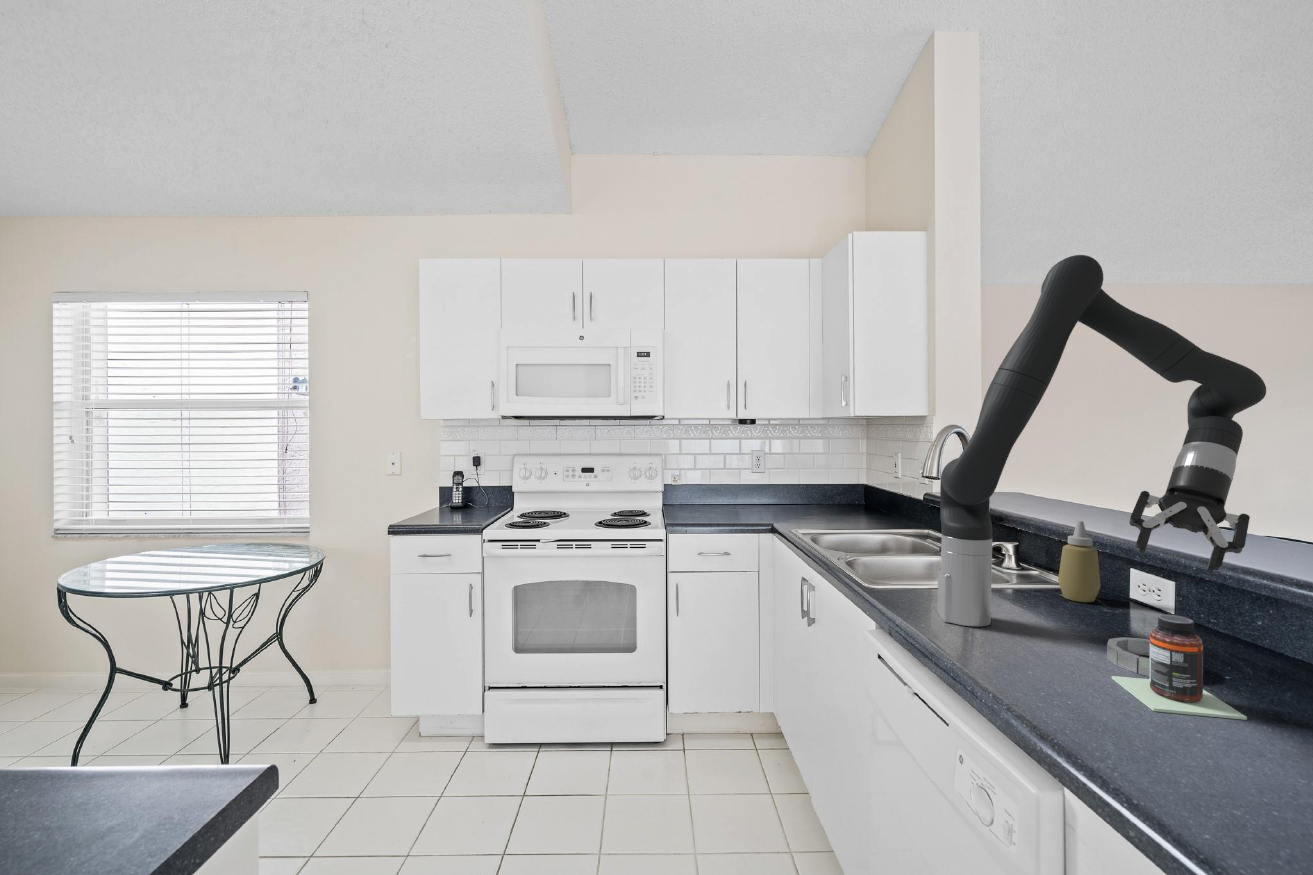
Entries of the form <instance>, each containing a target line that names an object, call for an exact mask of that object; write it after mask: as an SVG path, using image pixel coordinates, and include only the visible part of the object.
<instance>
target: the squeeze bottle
mask: <svg viewBox="0 0 1313 875" xmlns="http://www.w3.org/2000/svg"><path fill="white" fill-rule="evenodd" d="M1076 521H1077V522H1076V524H1075V529H1074V531H1073V535H1068V536H1067V544H1065V545H1063V546H1062V550H1061V558H1060V562H1059V570H1058V571H1059V572H1058V578H1057V579H1058V580H1057V582H1058V584H1059V587H1060V590H1061V593H1062V596H1063V598H1064V599H1067V600H1070V601H1074V602H1079V603H1093V602H1095V600H1096V598H1097V596H1098V594H1099V592H1100V589H1101V576H1100V567H1099V566H1100V565H1099V555H1098V549H1097V548H1095V547H1093V538H1092V537H1090V536H1088V535H1087V531H1086V527H1085V522H1084V521H1082V520H1081V521H1080V520H1076Z"/></svg>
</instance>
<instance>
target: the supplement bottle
mask: <svg viewBox="0 0 1313 875" xmlns="http://www.w3.org/2000/svg"><path fill="white" fill-rule="evenodd" d="M1157 620H1158V621H1157V624H1158V625H1157V626H1156V627H1155V628H1153V629H1152V630H1151V631H1150V633H1149V640H1150V656H1149V658H1150V670H1149V671H1150V676H1149V679H1150V688H1151V689H1152V690H1153V691H1154V692H1155V693H1157V694H1159V695H1161V696H1163V697H1166V698H1169V699H1173V700H1177V701H1183V702H1196V701H1200V700H1201V699H1202V697H1203V690H1204V644H1203V639H1202V638H1201V637H1200V636H1199V635H1198V634H1196V633H1195V631H1194V630H1195V621H1194V620H1193V619H1191V618H1187V617H1185V616H1181V615H1177V614H1176V615H1174V614H1160V615H1158V618H1157Z"/></svg>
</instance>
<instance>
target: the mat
mask: <svg viewBox="0 0 1313 875" xmlns="http://www.w3.org/2000/svg"><path fill="white" fill-rule="evenodd" d="M1111 679H1112V680H1113V681H1114V682H1116V684H1118V685H1119V686H1121V687H1122V688H1123V689H1125V691H1127V692H1129V693H1130V694H1131V695H1132V696H1133V697H1135V698H1136V699H1137V700H1138V701H1140V702H1141V703H1142V704H1144V705H1145V706H1146V707H1148V708H1149V709H1150V710H1152V711H1153V712H1160V713H1167V714H1168V713H1169V714H1178V715H1179V714H1181V715H1188V716H1189V715H1190V716H1201V717H1212V718H1221V719H1231V720H1232V719H1233V720H1243V721H1247V720H1248V717H1247V716H1246V715H1245V714H1243V713H1241V712H1239V711H1238V710H1236V709H1235V708H1233V707H1232V706H1231V705H1229V704H1227V703H1225V702H1224V701H1222V700H1220V699H1219V698H1217V697H1216V696H1215V695H1213V694H1212V693H1209V692H1208V691H1206V690H1205V689H1203V697H1202V699H1201V700H1200V701H1196V702H1183V701H1177V700H1173V699H1169V698H1166V697H1163V696H1161V695H1159V694H1157V693H1155V692H1154V691H1153V690H1152V689H1151V688H1150V678H1141V677H1140V678H1138V677H1129V676H1118V675H1112V676H1111Z"/></svg>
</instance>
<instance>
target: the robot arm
mask: <svg viewBox="0 0 1313 875" xmlns="http://www.w3.org/2000/svg"><path fill="white" fill-rule="evenodd" d="M1103 283H1104V271H1103V268H1102V266H1101V264H1100V263H1099V261H1097V259H1095V258H1093V257H1092V256H1090V255H1086V254H1076V255H1075V254H1074V255H1071V256H1067V257H1066V258H1063V259H1061V260H1060V261H1058V262H1057V263H1056V264H1054V265H1053V266H1052V267H1051V268H1050V269H1049V271H1048V272H1047V273H1046V276H1045V278H1044V280H1043V282H1042V283H1041V288H1040V289H1041V290H1040V296H1039V298H1038V299H1037V303H1036V305H1035V307H1034V309H1033V313H1032V314H1031V316H1030V319H1029V320H1028V322H1027V323H1026V325H1025V327H1024V328H1023V330H1022V331H1021V333H1020V334H1019V336H1018V337H1017V339H1016V340H1015V341H1014V343H1013V344H1012V345H1011V347H1010V349H1009V350H1008V351H1007V354H1006V355H1005V356H1004V358H1003V360H1002V362H1001V363H1000V365H999V366H998V368H997V371H996V372H995V374H994V376H993V378H992V380H991V381H990V384H989V386H988V389H987V391H986V393H985V395H984V399H983V402H982V405H981V409H980V412H979V416H978V420H977V424H976V426H975V429H974V431H973V434H972V435H971V437H970V439H969V441H968V443H967V444H966V445H965V447H964V449H963V451H961V453H960V455H959V457H957V458H955V459H952V460H950V461H949V462H948V463H946V465H945V466H944V468H943V469H942V472H941V473H940V474H941V475H940V485H939V486H940V491H939V492H940V495H939V496H940V498H939V499H940V500H939V502H940V503H939V504H940V508H939V509H940V512H939V513H940V514H939V515H940V522H941V523H940V524H941V548H940V549H941V550H940V552H941V556H940V560H941V561H940V568H938V570H937V614H938V616H939V617H940V618H941V620H942V621H943V622H944V623H951V624H955V625H960V626H965V627H966V626H967V627H977V628H978V627H987V626H989V625H991V624H992V623H991V621H992V620H991V619H992V578H993V577H992V570H993V568H992V565H993V524H992V520H991V512H990V510H991V509H990V503H991V501H990V498H991V497H992V496H993V494H994V493H995V491H996V489H997V486H998V485H999V482H1000V478H1001V476H1002V474H1003V471H1004V469H1005V466H1006V464H1007V460H1008V458H1009V457H1010V454H1011V452H1012V449H1013V447H1014V445H1015V444H1016V441H1017V440H1018V439H1019V437H1020V435H1021V434H1022V432H1023V431H1024V429H1025V428H1026V426H1027V425H1028V423H1029V421H1030V419H1031V418H1032V416H1033V415H1034V413H1035V412H1036V409H1037V407H1038V406H1039V404H1040V403H1041V400H1042V399H1043V397H1044V395H1045V394H1046V391H1047V389H1048V387H1049V385H1050V383H1051V382H1052V378H1053V377H1054V374H1055V373H1056V371H1057V368H1058V366H1059V363H1060V361H1061V359H1062V357H1063V356H1062V355H1063V354H1064V351H1065V349H1066V345H1067V342H1068V341H1069V338H1070V336H1071V334H1072V332H1073V330H1074V328H1075V327H1076V325H1077V324H1078V322H1079V323H1081V324H1082V325H1084V326H1086V327H1088V328H1090V329H1091V330H1093V331H1095V332H1097V333H1098V334H1100V335H1102V336H1103V337H1105V338H1107V339H1108V340H1110V341H1111V342H1112V343H1114V344H1116V345H1117V346H1119V347H1120V348H1121V349H1123V350H1124V351H1126V353H1128V354H1130V356H1132V357H1134V358H1135V359H1137V360H1138V361H1139V362H1140V363H1142V364H1144V365H1145V366H1146V367H1148V369H1150V370H1152V371H1153V372H1155V374H1157V375H1159V376H1160V377H1162V378H1163V379H1164V380H1166V381H1168V382H1170V383H1174V384H1175V383H1177V384H1178V383H1181V382H1186V381H1192V382H1195V383H1197V384H1200V385H1198V387H1196V388H1195V389H1194V390H1193V392H1192V393H1191V395H1190V397H1189V398H1188V402H1187V407H1186V408H1187V425H1188V429H1187V431H1186V434H1185V437H1184V441H1183V444H1182V446H1181V449H1180V451H1179V452H1178V455H1177V457H1176V459H1175V462H1174V465H1173V466H1172V472H1171V475H1170V477H1169V481H1168V484H1167V487H1166V490H1165V493H1164V494H1163V496H1161V497H1159V496H1155V495H1152V494H1150V492H1149V491H1147V490H1142V491H1141V492H1140V493H1139V496H1138V498H1137V501H1136V503H1135V506H1134V508H1133V510H1132V513H1131V514H1130V517H1129V518H1130V519H1129V525H1130V526H1132V527H1136V528H1137V529H1138V530H1139V534H1138V536H1137V540H1136V543H1135V546H1136V548H1137V549H1139V553H1142V554H1145V553H1146V550H1147V547H1148V544H1149V540H1150V537H1151V534H1152V532H1153V531H1155V530H1157V529H1161V528H1163V527H1165V526H1167V525H1168V524H1170V525H1171V526H1172V528H1176V529H1185V530H1187V531H1189V532H1192V533H1196V534H1197V533H1201V532H1202V534H1203V535H1204V537H1205V539H1206V540H1207V541H1209V543H1210V544H1211V545H1212V547H1213V549H1212V551H1211V554H1210V557H1209V561H1208V564H1207V568H1206V572H1209V573H1211V574H1212V573H1213V572H1214V571H1219V570H1220V569H1221V567H1222V565H1223V562H1224V559H1225V554H1227V553H1234V554H1241V553H1242V551H1243V549H1244V548H1245V546H1246V541H1247V536H1248V531H1249V525H1250V524H1249V523H1250V515H1249V514H1247V513H1240V514H1235V513H1234V514H1233V513H1228V512H1227V511H1226V510H1225V509H1226V508H1225V506H1226V504H1227V503H1226V502H1227V499H1228V495H1229V492H1230V489H1231V486H1232V483H1233V480H1234V476H1235V472H1236V467H1237V458H1238V454H1239V451H1240V447H1241V444H1242V440H1243V435H1244V433H1243V428H1242V426H1241V425H1240V423H1239V422H1237V421H1235V420H1233V418H1234V417H1235V415H1236V414H1239V413H1241V412H1243V411H1245V410H1247V409H1249V408H1252V407H1253V406H1256V405H1257V404H1259V403H1260V402H1261V401H1262V400H1264V398H1265V397H1266V395H1267V386H1266V383H1265V382H1264V380H1263V379H1262V377H1261V376H1260V375H1259V374H1258V373H1257V372H1255V371H1254V370H1252V369H1251V368H1249V367H1248V366H1245V365H1243V364H1240V363H1238V362H1236V361H1232V360H1231V359H1228V358H1225V357H1223V356H1221V355H1217V354H1215V353H1212V352H1208V351H1206V350H1203V349H1202V348H1200V347H1199V346H1198V345H1196V344H1195V343H1194V342H1192V341H1191V340H1189V339H1187V338H1186V337H1185V336H1183V335H1182V334H1180V333H1178V332H1177V331H1176V330H1174V329H1172V328H1171V327H1169V326H1167V325H1165V324H1162V323H1161V322H1159V321H1156V320H1154V319H1153V318H1150V317H1147V316H1145V315H1143V314H1140V313H1138V312H1136V311H1134V310H1131V309H1130V308H1128V307H1126V306H1124V305H1123V304H1121V303H1120V302H1118V301H1117V300H1115V298H1113V297H1112V296H1110V295H1109V294H1108V293H1107V292H1106V291H1105V290H1104V289H1102V287H1103V285H1104V284H1103ZM1154 505H1157V506H1158V507H1159V509H1160V511H1161V512H1159V513H1156V514H1155V515H1154V516H1152V517H1151V518H1149V519H1146V520H1145V519H1143V518H1142V516H1143V514H1144V512H1145V509H1148V508H1149V509H1150V508H1152V507H1153V506H1154ZM1224 521H1225V522H1227V523H1228V525H1229V527H1230V528H1231V529H1233V530H1234V531H1233V536H1232V541H1227V539H1226V538H1225V537H1224V536H1223V534H1222V531H1221V529H1220V527H1219V526H1218V524H1221V523H1223V522H1224Z"/></svg>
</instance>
